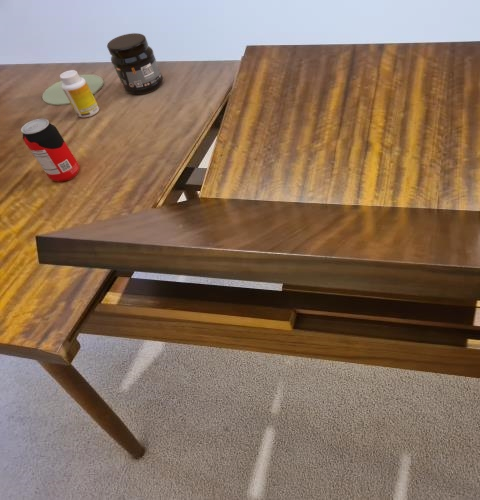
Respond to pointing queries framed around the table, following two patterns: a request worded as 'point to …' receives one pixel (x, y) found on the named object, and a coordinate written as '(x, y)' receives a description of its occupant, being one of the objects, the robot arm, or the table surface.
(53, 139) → the beverage can
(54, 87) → the mat
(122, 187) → the table surface
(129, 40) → the supplement container
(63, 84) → the supplement bottle
